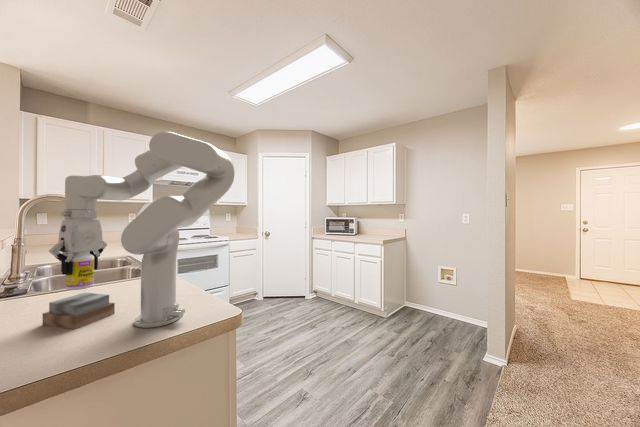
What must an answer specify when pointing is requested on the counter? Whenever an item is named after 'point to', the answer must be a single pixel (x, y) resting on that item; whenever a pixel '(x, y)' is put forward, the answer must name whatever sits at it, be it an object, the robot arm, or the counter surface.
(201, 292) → the counter surface
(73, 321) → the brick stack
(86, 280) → the supplement bottle
